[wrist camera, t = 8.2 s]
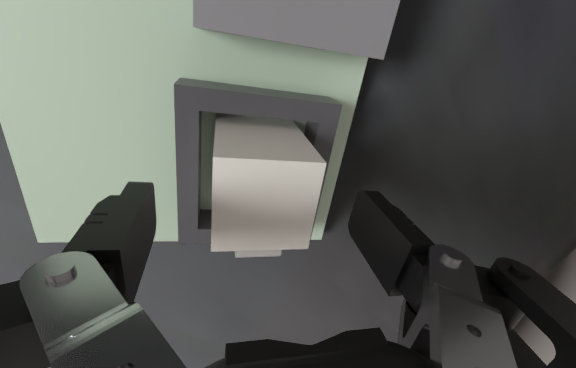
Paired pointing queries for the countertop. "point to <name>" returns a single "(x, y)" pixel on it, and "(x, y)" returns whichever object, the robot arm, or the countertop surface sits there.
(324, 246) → the countertop surface
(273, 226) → the plug
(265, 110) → the header socket
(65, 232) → the circuit board
